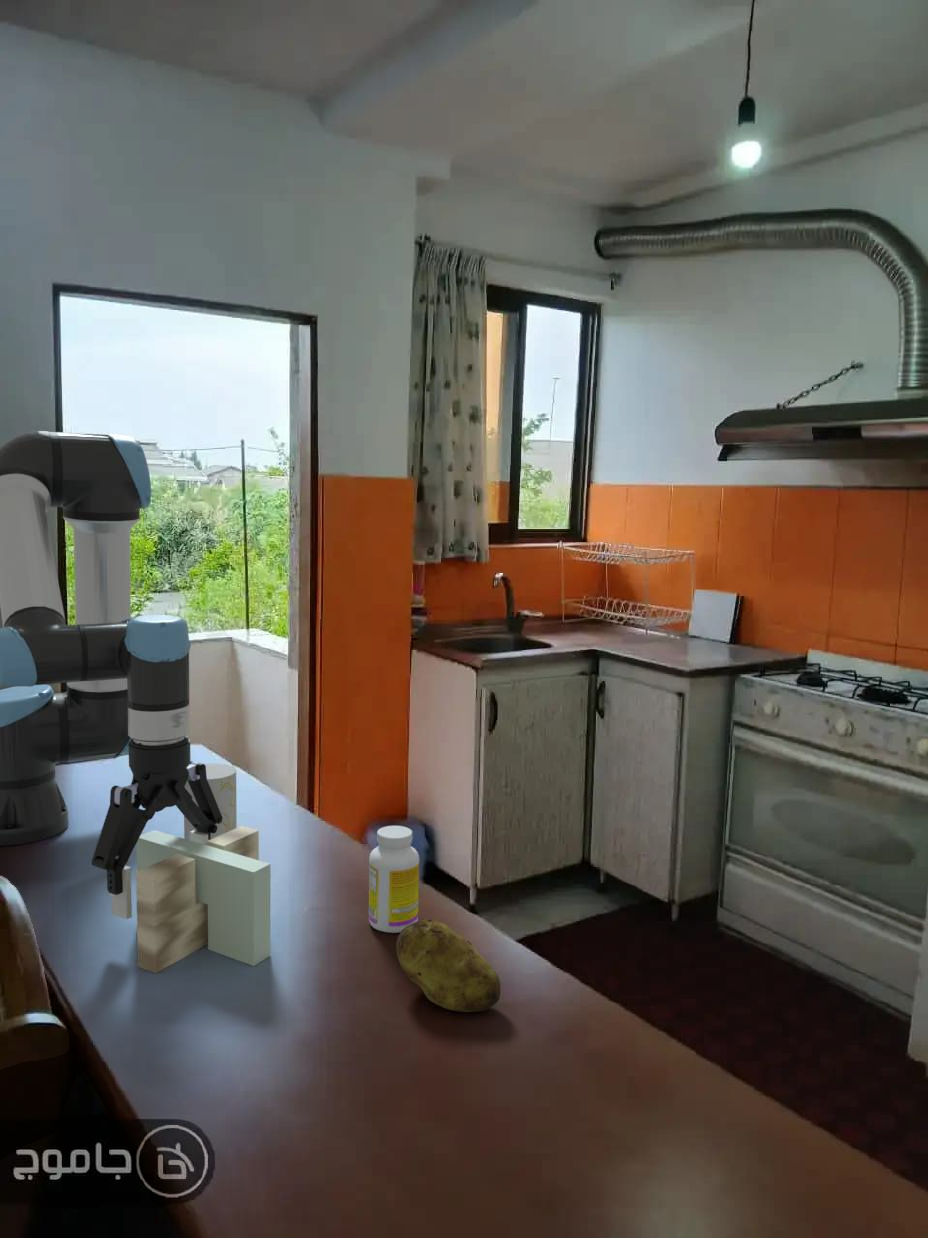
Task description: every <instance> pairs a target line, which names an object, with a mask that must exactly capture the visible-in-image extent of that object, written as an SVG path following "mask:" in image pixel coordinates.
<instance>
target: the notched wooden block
mask: <svg viewBox="0 0 928 1238" xmlns="http://www.w3.org/2000/svg"><path fill="white" fill-rule="evenodd" d="M259 834H260V833H259V830H258V829H254V828H251V827H247V826H243V825H240V826H237V828H236V829H233V830H231V831H229V832H226V833H224V834H222V835H220V836H217V837H215V838H213V839H210V840H208V841H207V845H208V846H211V847H214V848H218V849H221V850H225V851H228V852H232V853H235V854H238V855H242V856H245V857H249V858H252V859H256V860H259V861H260V856H259V855H260V852H259V850H260V849H259V847H260V846H259V841H260V838H259ZM135 883H136V884H135V886H136V887H135V888H136V889H135V890H136V930H137V931H136V934H137V938H136V939H137V967H139V968H141V969H142V970H143V969H144V970H146V971H148V972H151V973H154V974H157V973H159V972H161V971H163V970H165V969H166V968H168V967H170V966H172V965H173V964H175V963H176V962H179V961H181V960H182V959H184V958H186V957H188V956H190V955H192V954H193V953H195V952H197V951H198V950H200V949H202V948H203V947H206V946H208V904H205V903H202V902H199V901H196V898H195V859H193V858H189V857H186V856H183V855H180V854H176V855H174V856H171V857H169V858H167V859H164V860H162V861H160V862H158V863H155V864H153V865H151V866H148V867H146V868H144V869H142V870H139V871H137V870H136V871H135Z"/></svg>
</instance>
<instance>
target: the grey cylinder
mask: <svg viewBox="0 0 928 1238" xmlns="http://www.w3.org/2000/svg"><path fill="white" fill-rule="evenodd" d="M204 764H205V766H206V776H207V781H208V783H209V785H210V788H211V790H212V793H213V795H214V798H215V800H216V803H217V805H218V807H219V810H220V812H221V815H222V818H223V819H222V822H221V823H220V824H217V823H216V824H215V825H217V831H216V832H215V833H214V834H213V833H211V839H213V838H215V837H217V836H220V835H222V834H224V833H226V832H229V831H231V830H233V829H236V828H238V824H237V768H236V767H234V766H232V765H230V764H227V763H204ZM185 788H186V790H187V791H188V792H189V793H190V795H191V796H192V800H193V801H194V802H195V803H196V805H197V806H198V804H197V802H196V800H195V797H194V795H193V792H192V790H191V788H190V785H189V783H188V780H187V782H186V784H185ZM183 829H184V830H183V831H184V832H183V838H184V839H187V840H190V838H189V832H190V831H193V830H195V831H197V829H195V828H194V827H193V825H192V824H191V823H190V822H189V821H188V820H187V818H186V817H185V816H184V815H183Z"/></svg>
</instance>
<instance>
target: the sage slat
mask: <svg viewBox="0 0 928 1238" xmlns="http://www.w3.org/2000/svg"><path fill="white" fill-rule="evenodd" d="M135 846H136V847H135V848H136V872H137V871H139V870H142V869H144V868H146V867H148V866H151V865H153V864H155V863H158V862H160V861H162V860H164V859H167V858H169V857H171V856H174V855H176V854H180V855H183V856H186V857H189V858H193V859H195V898H196V901H199V902H202V903H205V904H208V944H207V948H208V949H207V950H208V951H211V952H213V953H217V954H220V955H223V956H224V957H228V958H230V959H232V960H236V961H238V962H241V963H244V964H246V965H250V966H252V967H255V966H257V965H259V963H262V962H263V961H265V960H266V959H268V958H269V957H271V863H269V862H266V861H262V860H260V859H259V860H256V859H252V858H249V857H245V856H242V855H238V854H235V853H232V852H228V851H225V850H221V849H218V848H214V847H211V846H208V845H204V844H201V843H197V842H194V841H190V840H187V839H184V837H180V836H177V835H173V834H169V833H166V832H162V831H160V830H155V829H153V830H150V831H147V832H146V833H143V834H141V835H140V837H139V839H138V841H137V843H136V845H135Z"/></svg>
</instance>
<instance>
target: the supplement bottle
mask: <svg viewBox="0 0 928 1238" xmlns="http://www.w3.org/2000/svg"><path fill="white" fill-rule="evenodd" d="M376 842H377V844H378V845H377V846H376V847H374V848H373V849H372V850H371V852H370V854H369V861H368V863H369V864H368V865H369V867H368V868H369V869H368V871H369V874H368V922H369V923H370V925H371V927H372V928H373V929H375V930H377V931H379V932H384V933H389V934H390V933H391V934H396V933H397V934H398V933H401V931H402V930H403V929H404V928H405V927H406V926H408V925H410V924H412V923H415V922H417V921H419V920H418V919H419V897H420V896H419V895H420V893H419V892H420V891H419V887H420V883H419V882H420V881H419V880H420V855H419V852H418V851H417V850H416V848H414V847H413V846H411V845H412V842H413V830H412V829H411V828H409V827H406V826H402V825H387V826H383V827H381V828H378V830H377V832H376Z"/></svg>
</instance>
